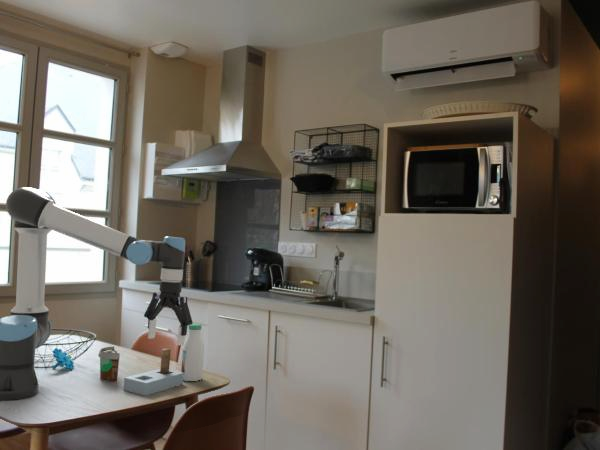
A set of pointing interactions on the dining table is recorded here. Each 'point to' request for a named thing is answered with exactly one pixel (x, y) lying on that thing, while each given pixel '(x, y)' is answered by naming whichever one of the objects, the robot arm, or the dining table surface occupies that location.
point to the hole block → (152, 382)
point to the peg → (165, 361)
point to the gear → (62, 359)
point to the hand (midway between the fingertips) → (165, 341)
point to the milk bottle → (193, 355)
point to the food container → (108, 364)
